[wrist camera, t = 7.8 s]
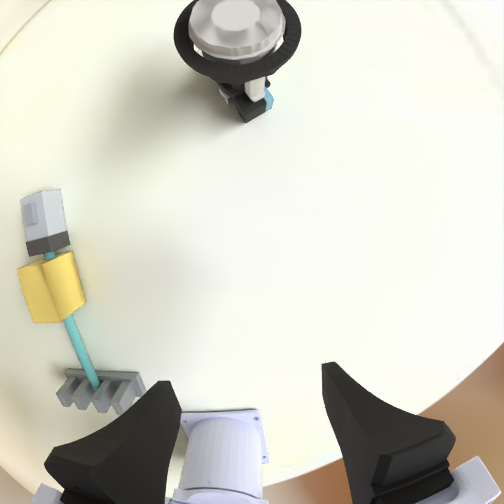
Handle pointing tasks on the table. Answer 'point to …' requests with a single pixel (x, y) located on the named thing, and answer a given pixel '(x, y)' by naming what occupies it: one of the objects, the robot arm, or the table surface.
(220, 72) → the push button
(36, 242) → the band
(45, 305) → the marker sleeve
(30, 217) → the connector
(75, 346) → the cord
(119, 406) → the cable comb
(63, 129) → the table surface
